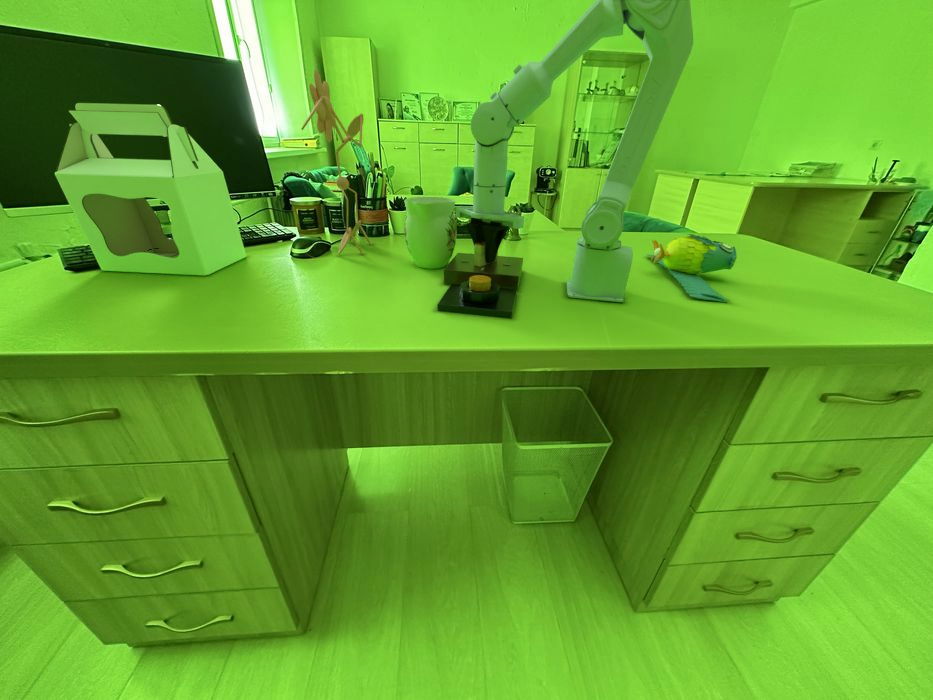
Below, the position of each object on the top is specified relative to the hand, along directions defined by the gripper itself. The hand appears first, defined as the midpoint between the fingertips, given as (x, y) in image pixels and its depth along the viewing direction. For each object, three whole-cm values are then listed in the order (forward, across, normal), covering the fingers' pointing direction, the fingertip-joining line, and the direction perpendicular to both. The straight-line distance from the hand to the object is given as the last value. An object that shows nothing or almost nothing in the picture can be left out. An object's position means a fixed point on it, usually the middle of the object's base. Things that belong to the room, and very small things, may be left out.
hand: (485, 260), depth 72 cm
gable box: (+4, -52, -38) cm, 65 cm away
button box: (+3, +7, -11) cm, 13 cm away
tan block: (0, 0, 0) cm, 0 cm away
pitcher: (+4, -15, 0) cm, 15 cm away
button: (+1, +7, -11) cm, 13 cm away
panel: (+3, 0, 0) cm, 3 cm away
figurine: (+4, -39, -8) cm, 40 cm away
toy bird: (+4, +30, +31) cm, 43 cm away
